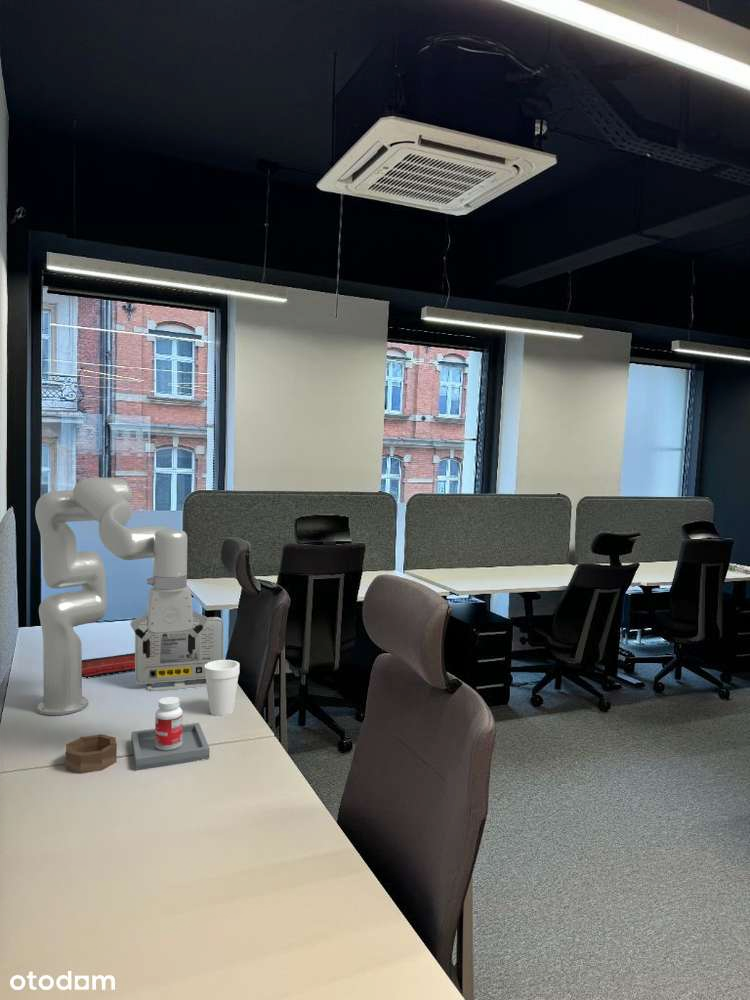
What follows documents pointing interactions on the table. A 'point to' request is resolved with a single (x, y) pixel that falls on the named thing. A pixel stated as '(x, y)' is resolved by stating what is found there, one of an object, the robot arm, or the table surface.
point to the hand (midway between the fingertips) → (169, 654)
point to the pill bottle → (168, 724)
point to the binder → (108, 665)
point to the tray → (152, 757)
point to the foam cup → (222, 685)
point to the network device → (178, 655)
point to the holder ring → (91, 753)
